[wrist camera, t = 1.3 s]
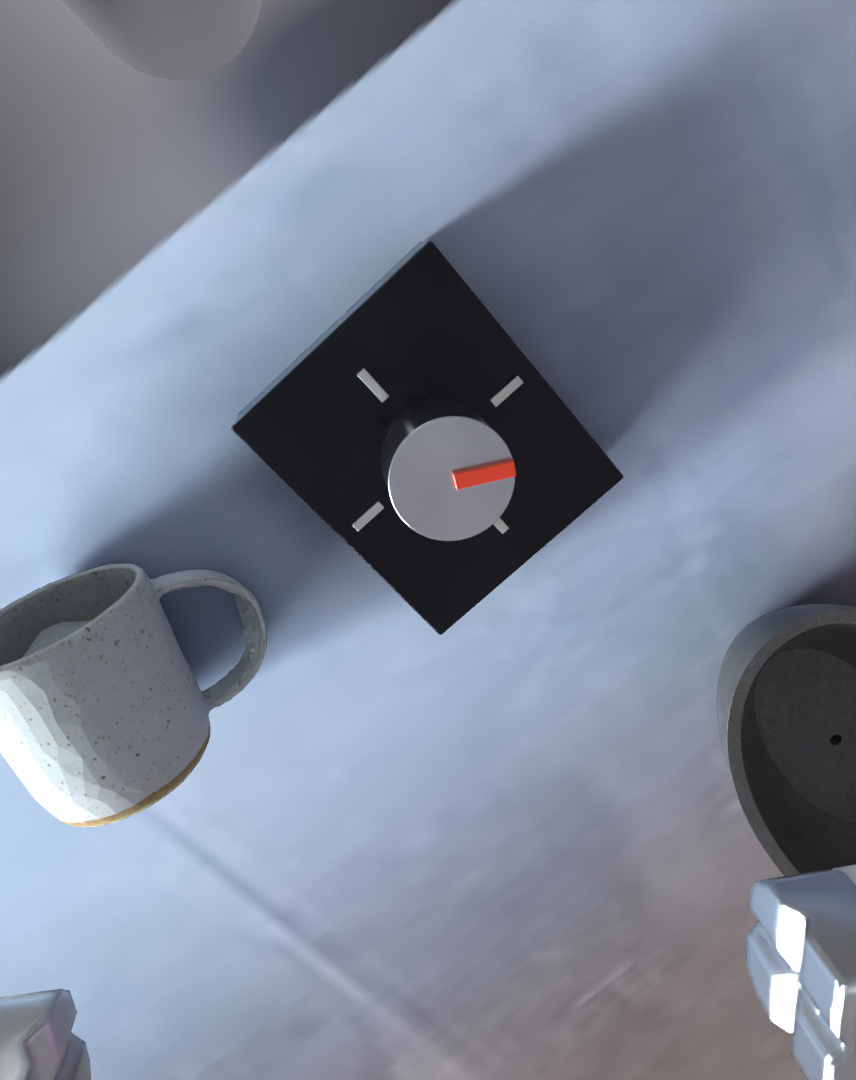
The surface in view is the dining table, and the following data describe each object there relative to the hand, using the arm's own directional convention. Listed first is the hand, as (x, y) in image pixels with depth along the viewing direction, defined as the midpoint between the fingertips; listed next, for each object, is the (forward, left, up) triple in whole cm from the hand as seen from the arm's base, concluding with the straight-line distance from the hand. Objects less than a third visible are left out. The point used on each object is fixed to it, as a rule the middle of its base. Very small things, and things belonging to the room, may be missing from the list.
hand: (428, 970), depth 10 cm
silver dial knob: (+1, +3, -23) cm, 23 cm away
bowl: (+26, +8, -26) cm, 38 cm away
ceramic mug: (-1, -12, -26) cm, 29 cm away
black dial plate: (+1, +3, -26) cm, 26 cm away
